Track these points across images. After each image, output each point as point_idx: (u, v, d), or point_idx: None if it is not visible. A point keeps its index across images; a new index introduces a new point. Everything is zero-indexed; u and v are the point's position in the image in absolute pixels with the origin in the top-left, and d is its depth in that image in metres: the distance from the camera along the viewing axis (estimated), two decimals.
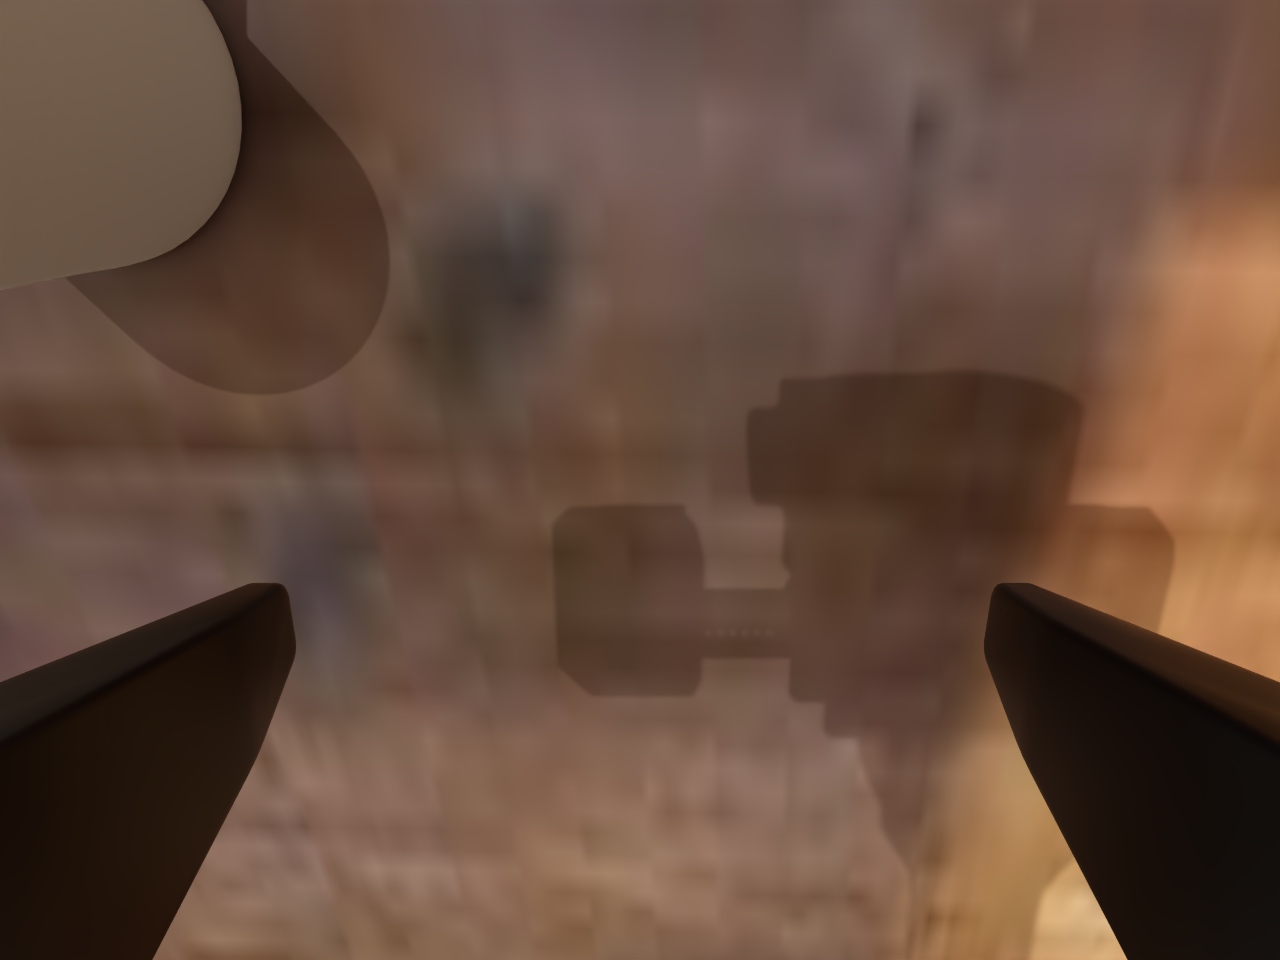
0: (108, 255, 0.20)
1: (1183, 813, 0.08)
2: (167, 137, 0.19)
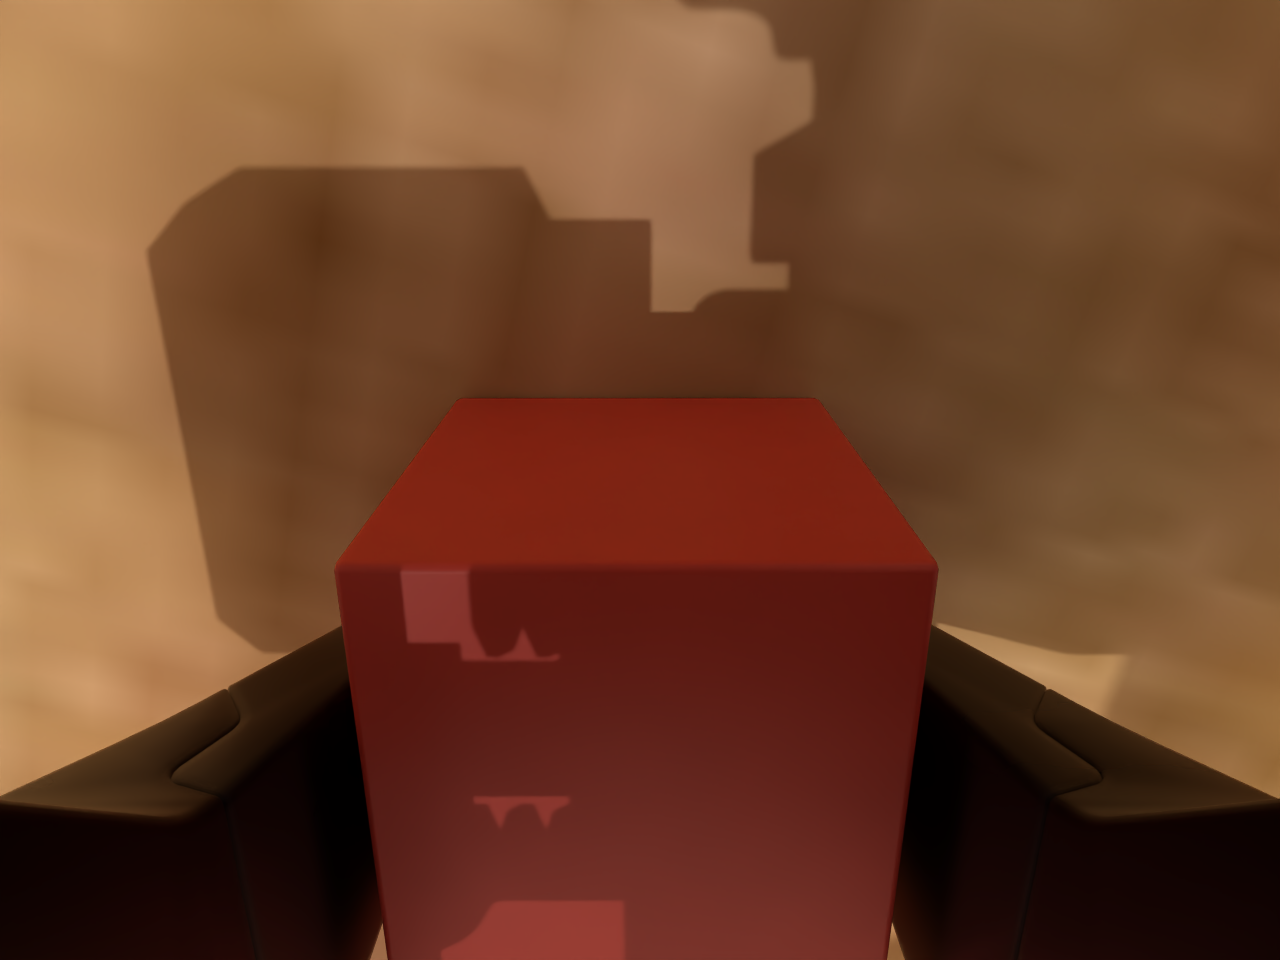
0: None
1: (936, 813, 0.08)
2: None
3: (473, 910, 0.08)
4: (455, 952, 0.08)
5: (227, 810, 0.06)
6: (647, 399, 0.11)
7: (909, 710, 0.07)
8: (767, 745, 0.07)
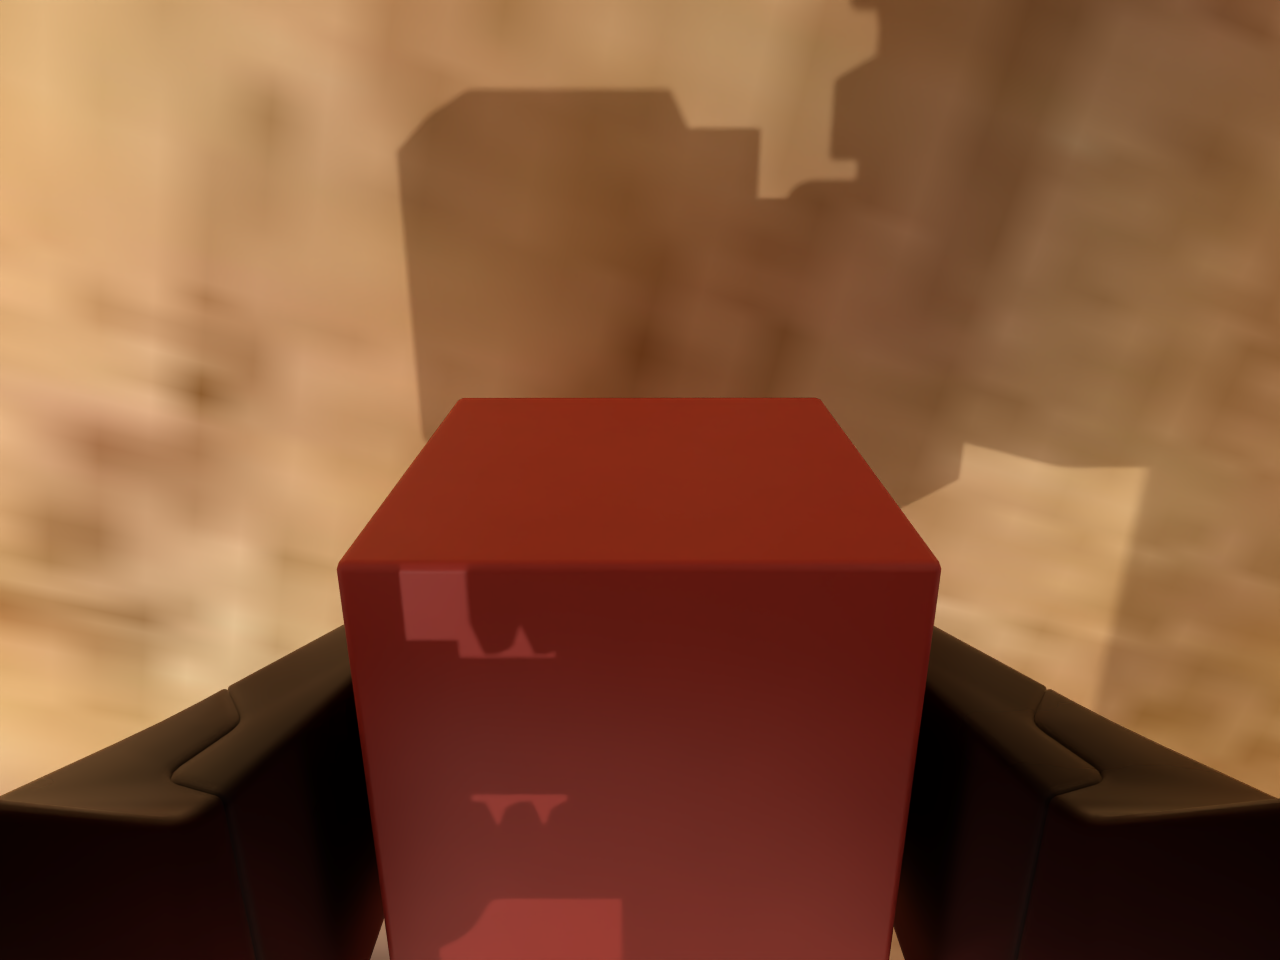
0: None
1: (936, 813, 0.08)
2: None
3: (476, 910, 0.08)
4: (457, 951, 0.08)
5: (227, 810, 0.06)
6: (649, 399, 0.11)
7: (912, 709, 0.07)
8: (770, 745, 0.07)
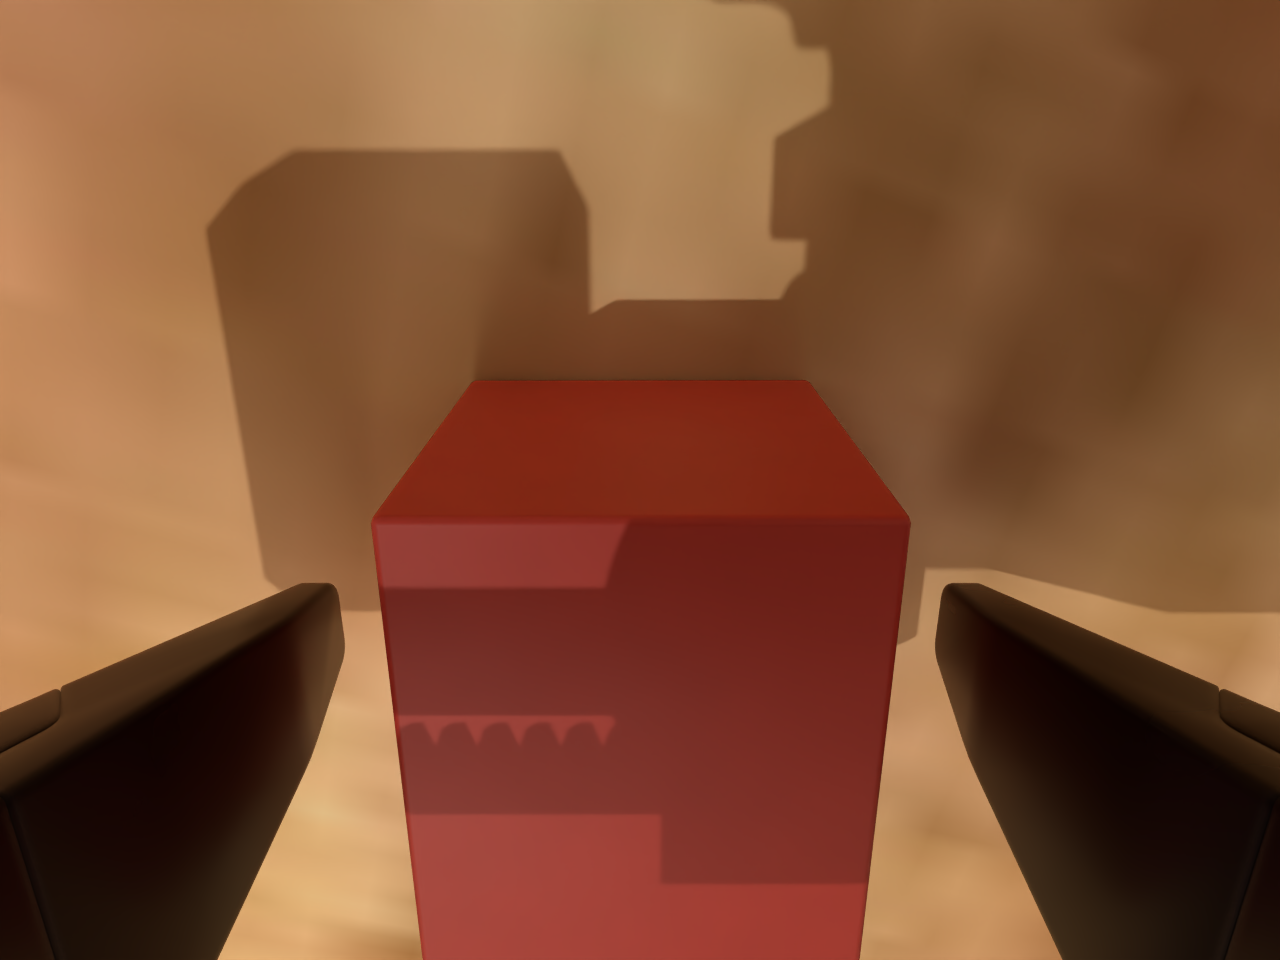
0: None
1: (1111, 813, 0.08)
2: None
3: (492, 839, 0.09)
4: (475, 878, 0.09)
5: (10, 810, 0.06)
6: (649, 381, 0.12)
7: (885, 651, 0.08)
8: (758, 683, 0.08)
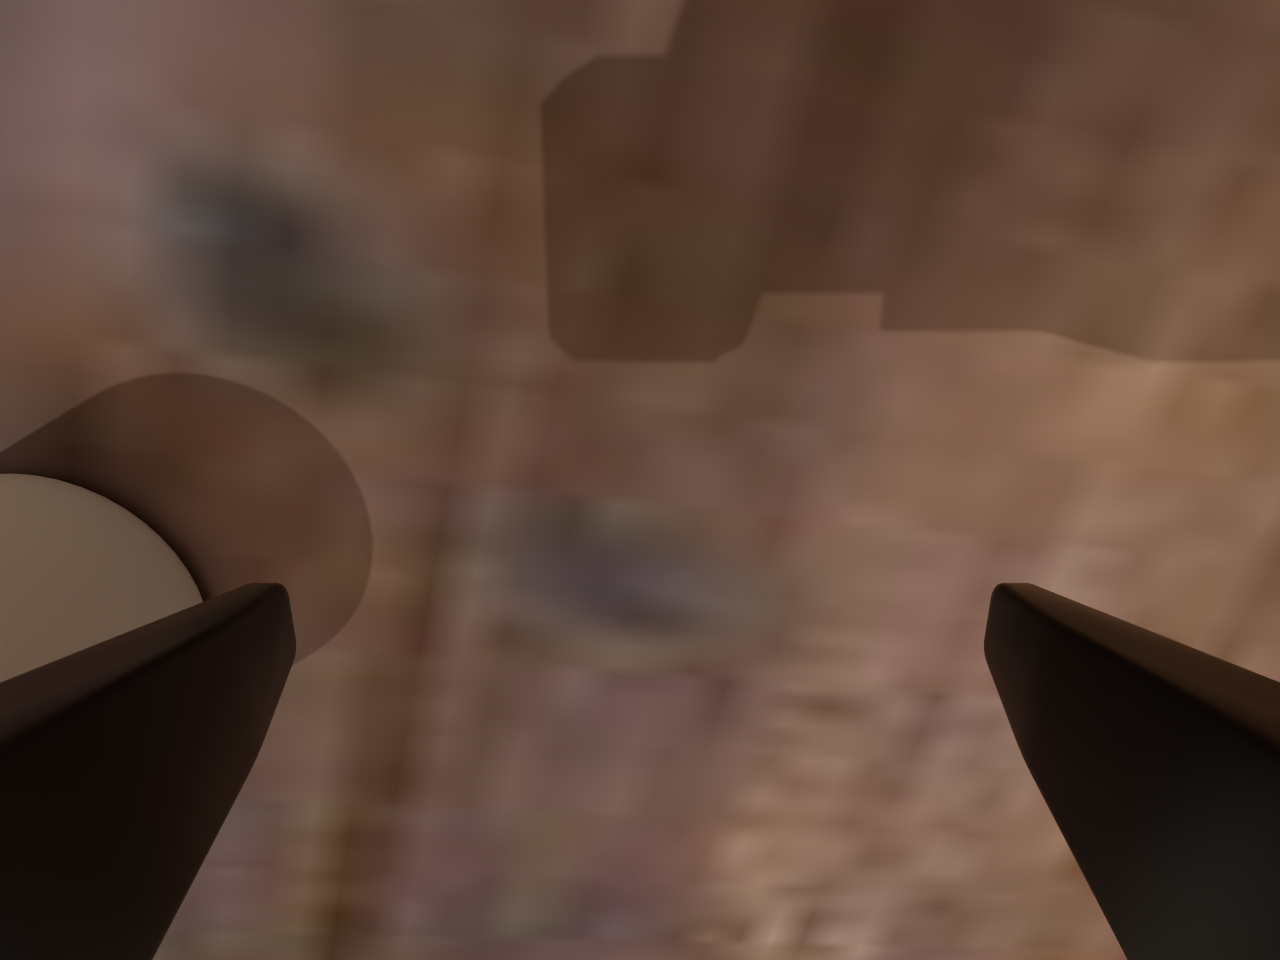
0: None
1: (1183, 813, 0.08)
2: None
3: None
4: None
5: None
6: None
7: None
8: None
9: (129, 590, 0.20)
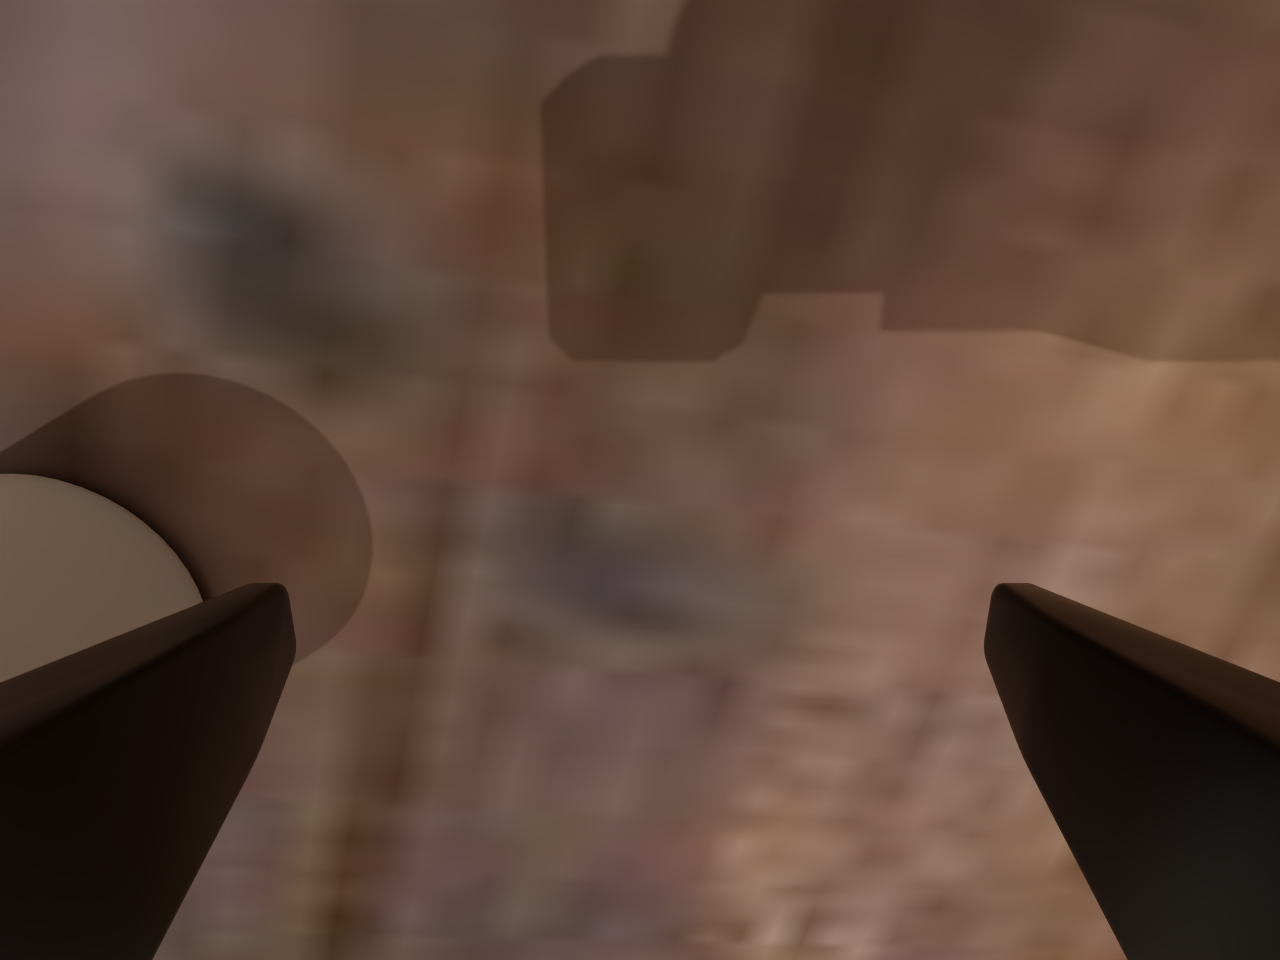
0: None
1: (1183, 813, 0.08)
2: None
3: None
4: None
5: None
6: None
7: None
8: None
9: (129, 590, 0.20)
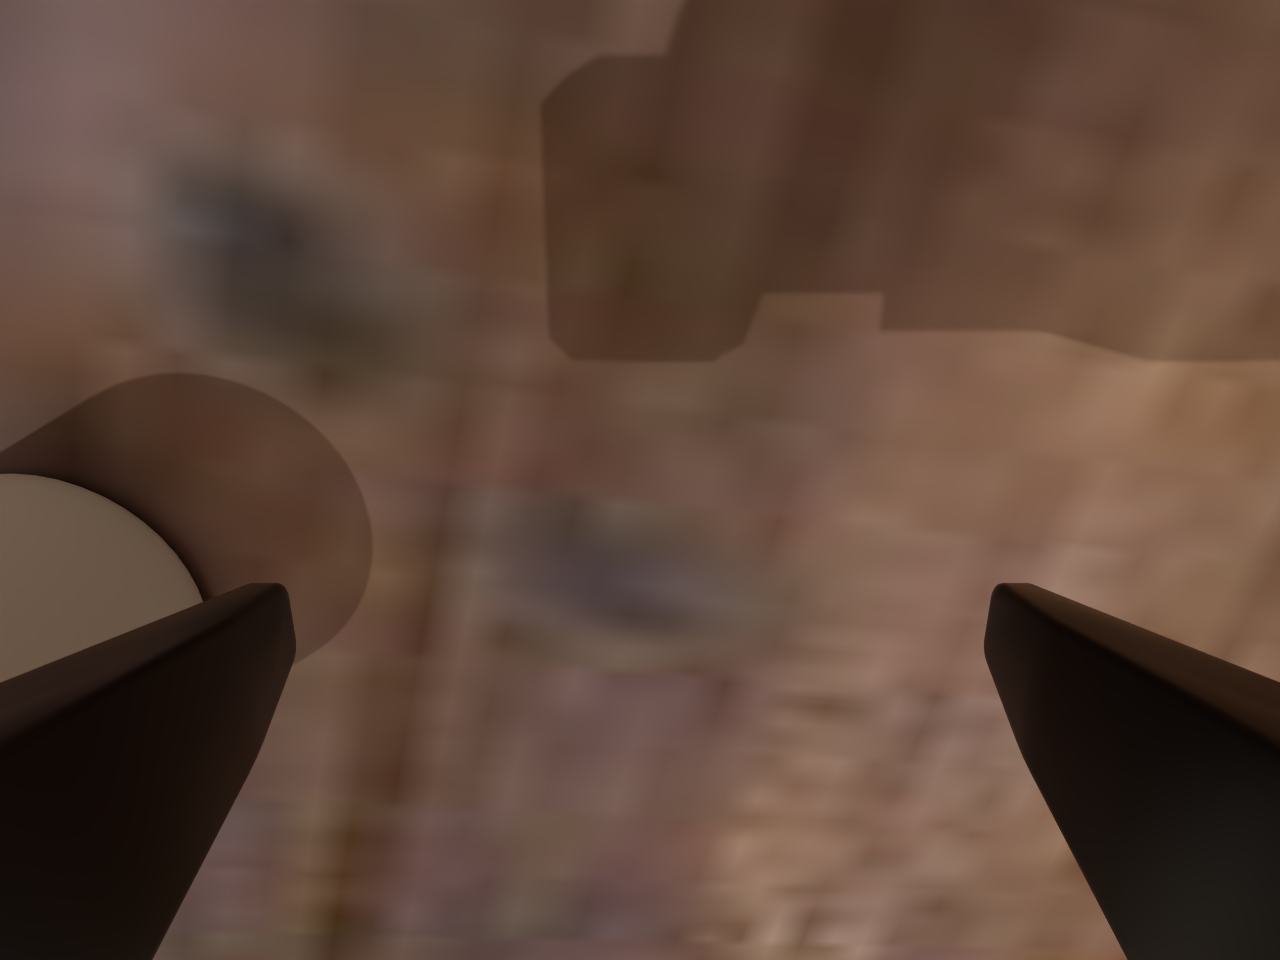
0: None
1: (1183, 813, 0.08)
2: None
3: None
4: None
5: None
6: None
7: None
8: None
9: (129, 590, 0.20)
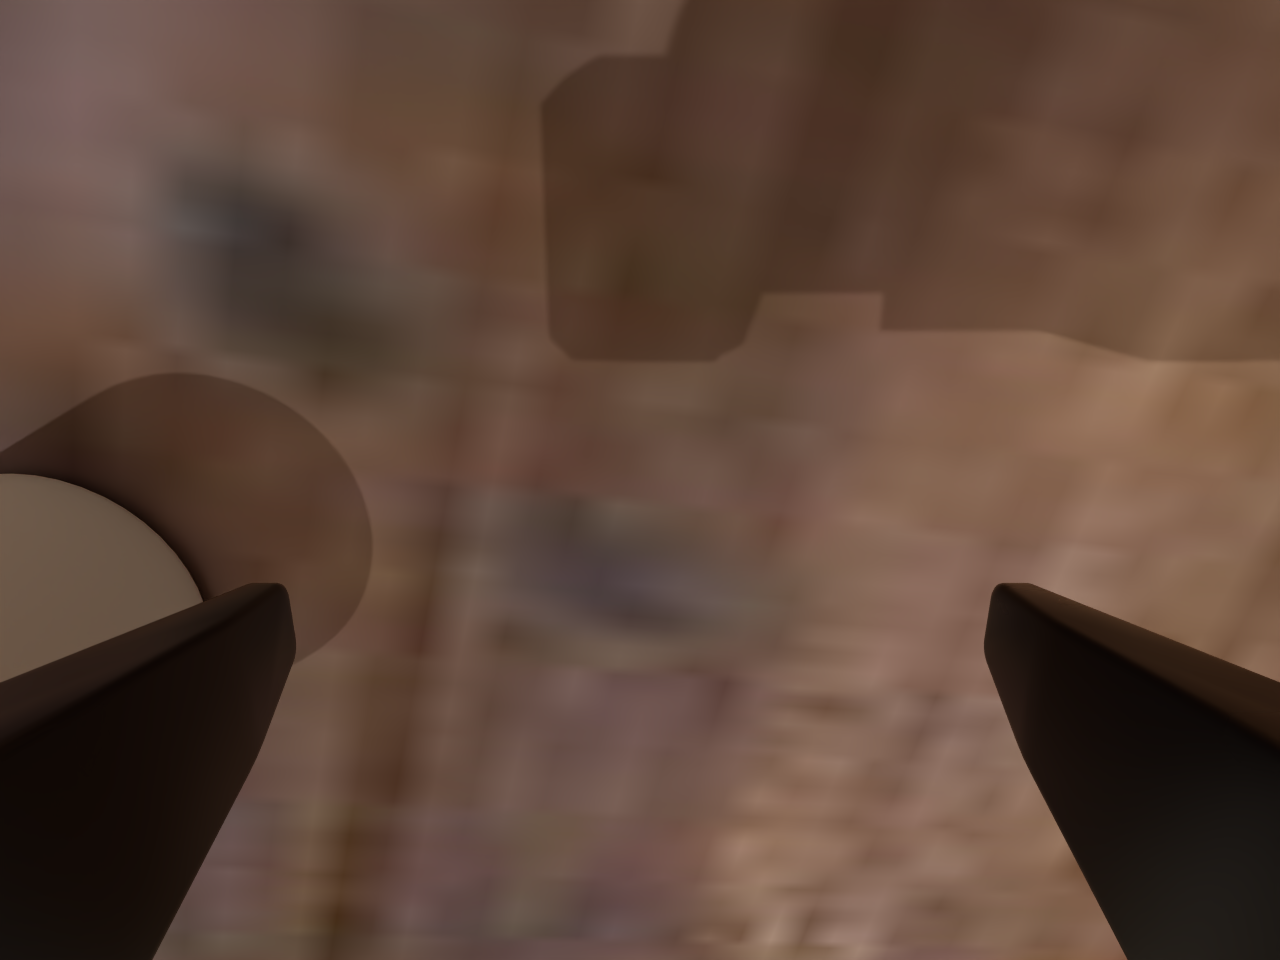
0: None
1: (1183, 813, 0.08)
2: None
3: None
4: None
5: None
6: None
7: None
8: None
9: (129, 590, 0.20)
